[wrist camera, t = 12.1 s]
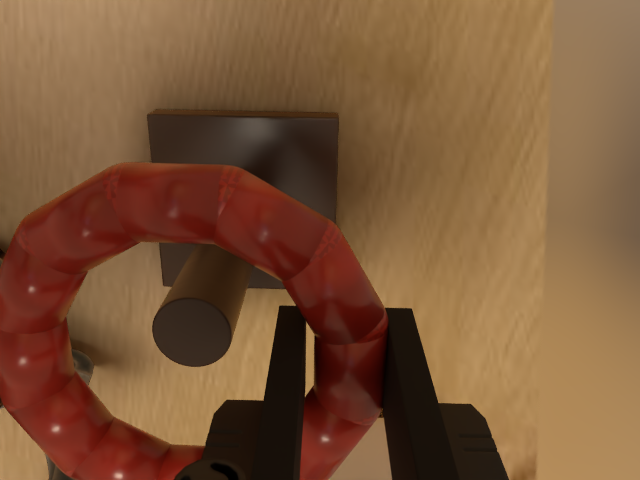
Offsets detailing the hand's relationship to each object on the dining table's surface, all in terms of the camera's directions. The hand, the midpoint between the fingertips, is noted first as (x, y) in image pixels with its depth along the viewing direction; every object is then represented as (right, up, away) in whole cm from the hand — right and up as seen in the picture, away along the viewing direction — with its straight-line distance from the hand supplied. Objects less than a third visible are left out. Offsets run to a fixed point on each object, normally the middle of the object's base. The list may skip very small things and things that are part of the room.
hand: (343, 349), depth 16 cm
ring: (-4, 0, 0) cm, 4 cm away
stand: (-4, +5, +13) cm, 15 cm away
